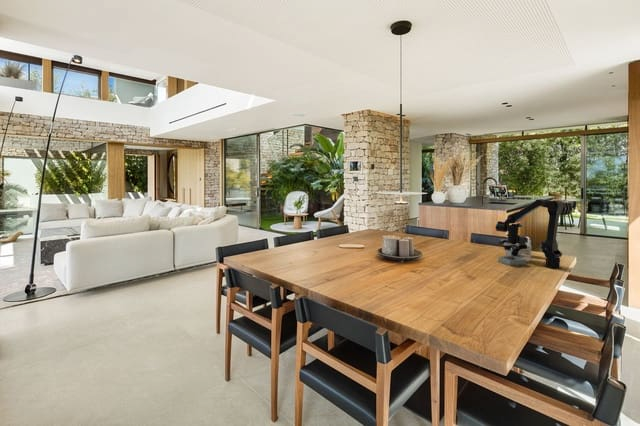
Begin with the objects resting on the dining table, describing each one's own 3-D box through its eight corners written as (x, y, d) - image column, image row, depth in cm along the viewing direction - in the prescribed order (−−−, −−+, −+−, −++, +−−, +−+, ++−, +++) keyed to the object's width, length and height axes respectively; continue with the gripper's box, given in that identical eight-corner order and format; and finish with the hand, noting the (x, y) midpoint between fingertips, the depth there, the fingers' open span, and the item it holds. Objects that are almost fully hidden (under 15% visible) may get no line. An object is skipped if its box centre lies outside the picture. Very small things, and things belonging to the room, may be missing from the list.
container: (518, 256, 221) (519, 237, 220) (514, 253, 228) (515, 235, 227) (531, 257, 219) (532, 237, 217) (527, 254, 226) (528, 235, 225)
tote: (526, 265, 198) (526, 259, 198) (510, 266, 196) (510, 260, 196) (513, 261, 208) (513, 255, 208) (498, 261, 207) (498, 256, 207)
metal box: (518, 259, 211) (518, 250, 211) (511, 260, 211) (511, 251, 210) (512, 258, 216) (512, 249, 216) (505, 258, 216) (506, 249, 215)
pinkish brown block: (530, 261, 209) (530, 255, 209) (523, 261, 208) (524, 256, 208) (522, 258, 215) (523, 253, 214) (516, 259, 214) (517, 253, 214)
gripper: (535, 235, 204) (534, 259, 205) (513, 230, 222) (512, 253, 224) (519, 235, 202) (518, 260, 204) (498, 231, 220) (497, 253, 222)
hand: (511, 256), depth 213 cm, fingers closed on metal box, 5 cm apart
